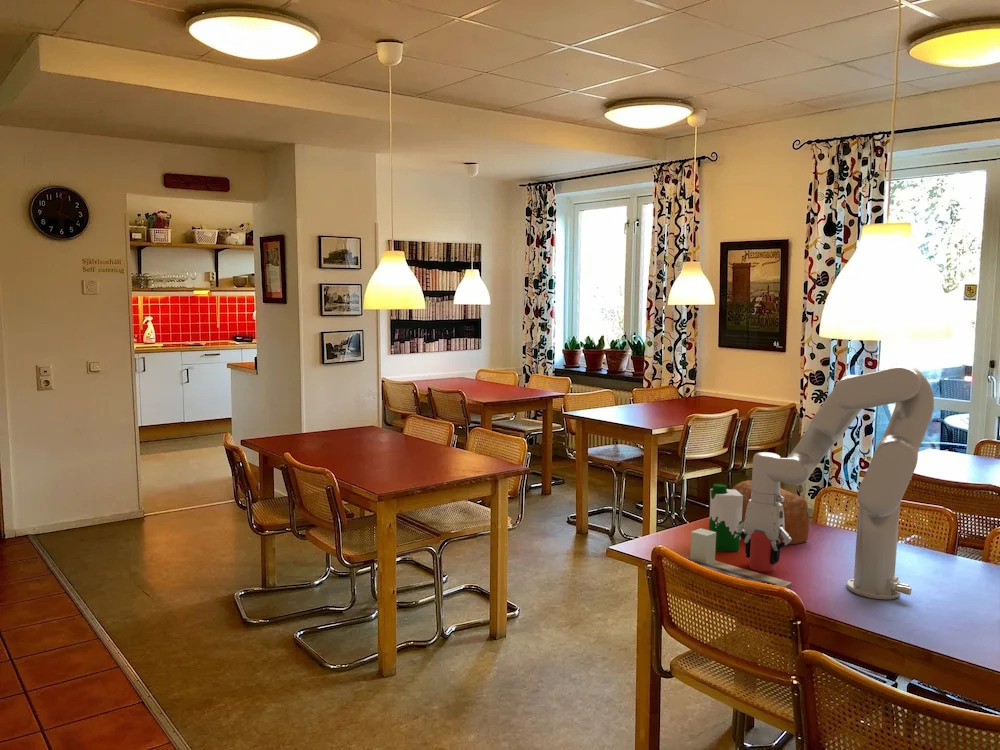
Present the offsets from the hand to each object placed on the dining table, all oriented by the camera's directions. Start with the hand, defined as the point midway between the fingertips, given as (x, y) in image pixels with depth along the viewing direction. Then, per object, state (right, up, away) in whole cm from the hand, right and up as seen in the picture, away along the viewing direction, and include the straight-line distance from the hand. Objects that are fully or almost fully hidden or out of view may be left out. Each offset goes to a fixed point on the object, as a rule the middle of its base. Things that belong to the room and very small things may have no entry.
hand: (761, 559), depth 213 cm
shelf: (-9, -3, -4) cm, 10 cm away
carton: (-16, -2, +3) cm, 16 cm away
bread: (+14, 0, +36) cm, 39 cm away
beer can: (0, -3, 0) cm, 3 cm away
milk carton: (-6, -2, +17) cm, 18 cm away
